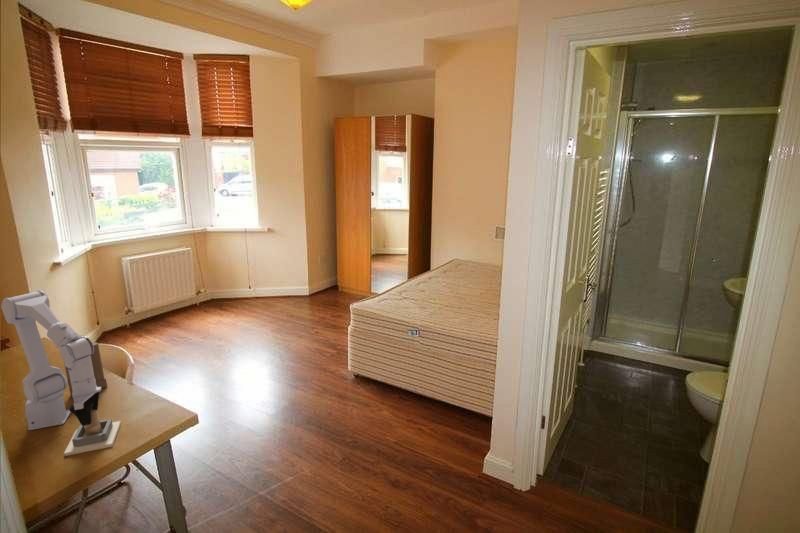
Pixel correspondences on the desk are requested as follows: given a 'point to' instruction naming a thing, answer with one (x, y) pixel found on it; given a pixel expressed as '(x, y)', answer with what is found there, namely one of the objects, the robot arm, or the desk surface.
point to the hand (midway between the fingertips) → (90, 417)
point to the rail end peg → (93, 424)
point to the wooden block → (96, 369)
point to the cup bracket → (93, 438)
